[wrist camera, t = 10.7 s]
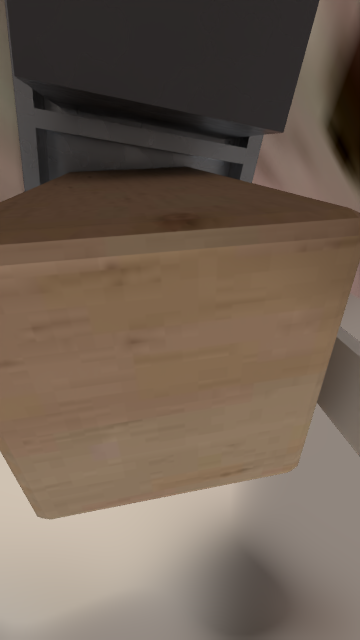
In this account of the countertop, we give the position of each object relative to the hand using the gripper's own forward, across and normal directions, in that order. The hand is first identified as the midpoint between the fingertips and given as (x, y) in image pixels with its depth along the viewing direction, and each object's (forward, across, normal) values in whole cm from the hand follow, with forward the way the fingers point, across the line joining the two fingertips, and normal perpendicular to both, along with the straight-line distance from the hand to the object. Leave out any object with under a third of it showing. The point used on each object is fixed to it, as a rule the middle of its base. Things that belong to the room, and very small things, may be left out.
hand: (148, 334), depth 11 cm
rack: (+17, +1, +4) cm, 18 cm away
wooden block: (+17, +1, 0) cm, 17 cm away
